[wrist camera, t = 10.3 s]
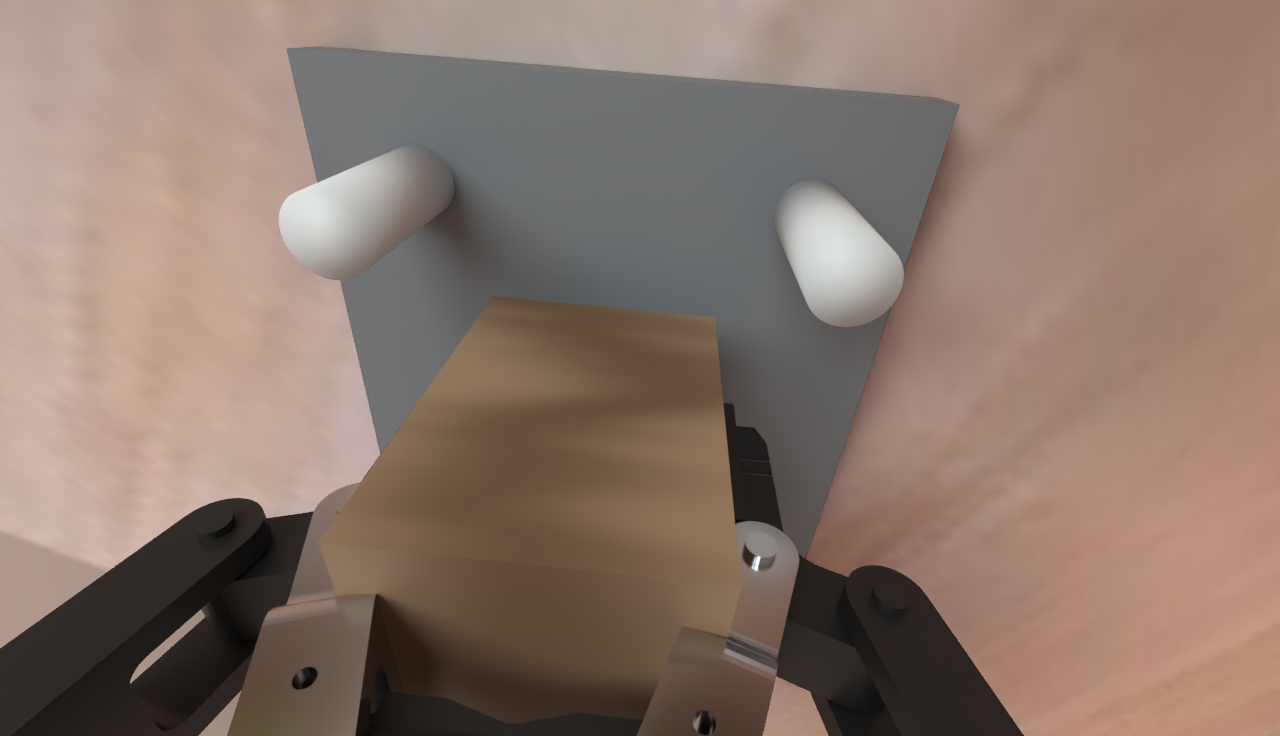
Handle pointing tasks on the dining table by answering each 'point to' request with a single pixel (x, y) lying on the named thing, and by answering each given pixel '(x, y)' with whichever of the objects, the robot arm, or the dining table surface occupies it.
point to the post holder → (618, 223)
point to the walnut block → (551, 512)
